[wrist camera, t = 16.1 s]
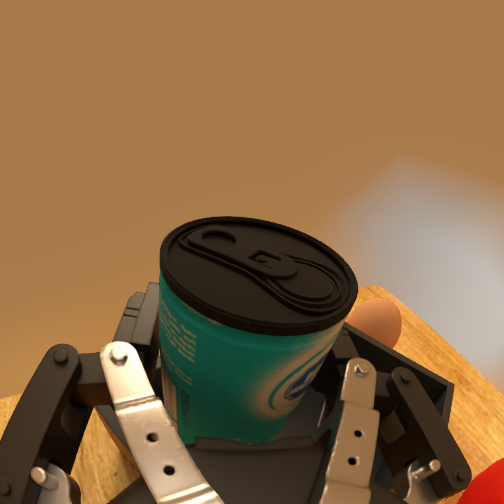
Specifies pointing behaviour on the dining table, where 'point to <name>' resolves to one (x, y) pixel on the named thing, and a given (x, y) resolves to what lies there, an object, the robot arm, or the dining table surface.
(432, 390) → the bin
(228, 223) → the beverage can
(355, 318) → the egg
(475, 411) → the dining table surface
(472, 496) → the tomato
